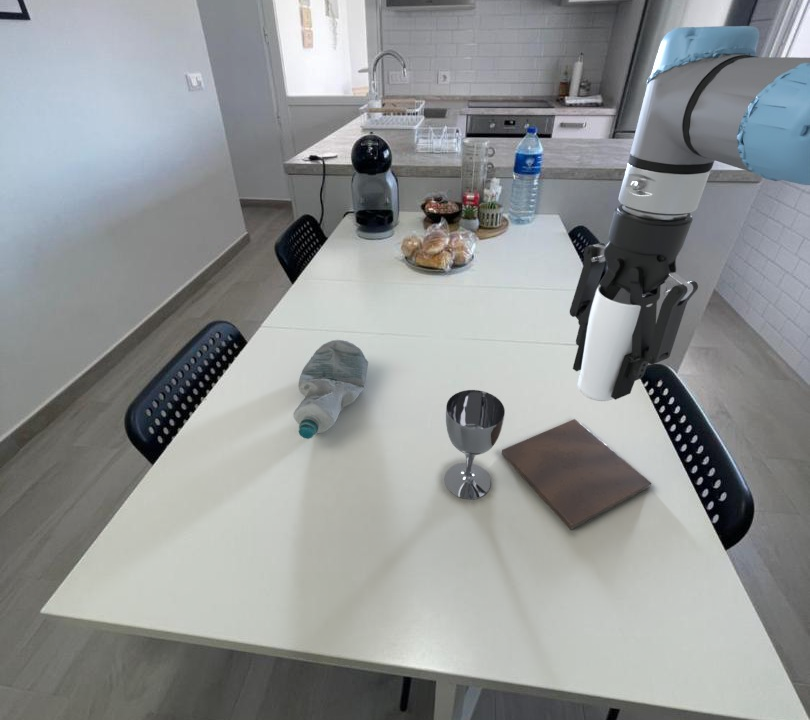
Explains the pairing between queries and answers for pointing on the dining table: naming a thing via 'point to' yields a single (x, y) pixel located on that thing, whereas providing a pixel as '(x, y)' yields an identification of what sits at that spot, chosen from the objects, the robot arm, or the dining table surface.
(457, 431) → the silver metal goblet
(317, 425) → the crushed plastic bottle
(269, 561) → the dining table surface
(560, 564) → the dining table surface
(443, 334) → the dining table surface
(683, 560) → the dining table surface
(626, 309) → the drinking glass
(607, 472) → the walnut board
